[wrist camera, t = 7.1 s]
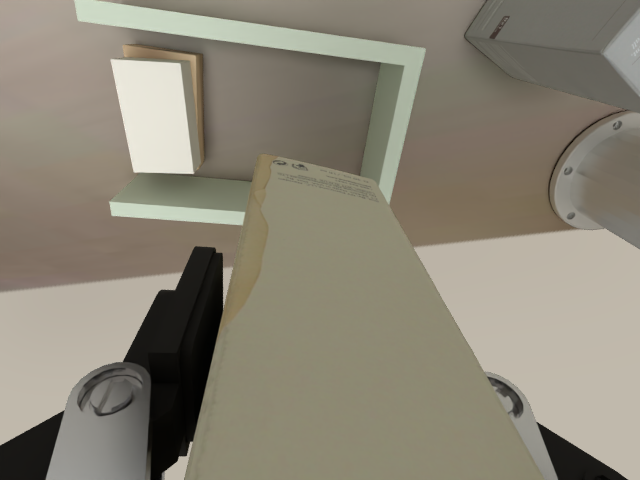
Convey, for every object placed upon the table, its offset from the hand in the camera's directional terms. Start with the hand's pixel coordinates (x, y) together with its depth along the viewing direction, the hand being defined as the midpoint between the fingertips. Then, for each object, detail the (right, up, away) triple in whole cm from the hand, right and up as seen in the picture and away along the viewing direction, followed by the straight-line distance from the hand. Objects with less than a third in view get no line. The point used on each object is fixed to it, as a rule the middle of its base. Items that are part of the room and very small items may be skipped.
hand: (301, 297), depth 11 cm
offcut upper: (-12, +12, +18) cm, 25 cm away
